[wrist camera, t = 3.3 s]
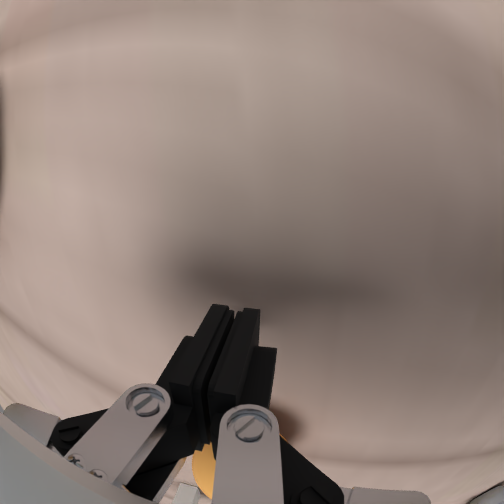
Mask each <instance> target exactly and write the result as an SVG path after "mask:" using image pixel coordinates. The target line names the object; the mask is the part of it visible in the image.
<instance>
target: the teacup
mask: <svg viewBox="0 0 504 504" xmlns="http://www.w3.org/2000/svg"><path fill="white" fill-rule="evenodd" d="M470 504H504V487H503V486H498V487H495V488H493V489H491V490H490V491H488V492H486V493H484V494H482V495H481V496H479V497H477V498H475V499H474V500H472V501H471V502H470Z"/></svg>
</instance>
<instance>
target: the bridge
mask: <svg viewBox="0 0 504 504" xmlns="http://www.w3.org/2000/svg"><path fill="white" fill-rule="evenodd" d="M200 496H201V495H200V492H199V489H198V487H194V486H191V485H187V484H184V483H180V485H179V488H178V490H177V492H176V495H175V497H174V499H173V502H172V504H198V501H199V498H200Z"/></svg>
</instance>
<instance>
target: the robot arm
mask: <svg viewBox="0 0 504 504" xmlns="http://www.w3.org/2000/svg"><path fill="white" fill-rule="evenodd" d="M259 326H260V309H251V308H244V310H243V312H241V311H238V312H237V314H236V317H235V319H234V311H233V310H229V306H225V305H218V304H212V306H211V307H210V309H209V311H208V313H207V314H206V316H205V318H204V320H203V321H202V323H201V325H200V327H199V328H198V330H197V332H196V334H195V335H194V337H192V336H185V337H184V338H183V340H182V341H181V343H180V345H179V346H178V348H177V350H176V351H175V353H174V355H173V356H172V358H171V360H170V361H169V363H168V364H167V366H166V368H165V369H164V371H163V373H162V374H161V376H160V378H159V379H158V381H157V383H156V384H155V385H154V384H146V383H144V384H138V385H135V386H133V387H130V388H129V389H128V390H126V391H125V392H124V393H123V394H122V395H121V396H120V397H119V399H118V400H117V401H116V402H115V403H114V404H113V405H112V406H111V407H110V408H109V409H105V410H101V411H97V412H93V413H89V414H85V415H80V416H76V417H71V418H67V419H64V420H61V419H60V418H59V417H58V416H55V415H51V414H48V413H45V412H42V411H39V410H37V409H34V408H31V407H28V406H26V405H23V404H19V403H15V404H11V405H9V406H8V407H7V408H6V409H5V410H4V412H3V414H2V413H1V412H0V504H159V502H160V501H161V499H162V498H163V496H164V494H165V493H166V491H167V490H168V488H169V487H170V485H171V484H172V482H173V480H174V479H175V477H176V476H177V474H178V473H179V471H180V469H181V468H182V466H183V465H184V463H185V460H186V457H187V456H190V455H192V454H194V452H195V450H198V451H202V450H203V447H204V444H208V445H210V443H212V449H213V455H214V459H215V460H216V465H215V475H214V484H213V494H212V503H211V504H431V501H430V499H429V498H428V496H427V495H425V494H424V493H422V492H418V491H399V490H382V489H370V488H361V487H353V488H352V489H350V488H343V487H339V486H338V485H337V484H336V483H335V482H334V481H332V480H331V479H330V478H329V477H327V476H326V475H325V474H324V473H322V472H321V471H320V470H319V469H318V468H316V467H315V466H314V465H313V464H312V463H310V462H309V461H308V460H307V459H306V458H305V457H303V456H302V455H301V454H300V453H299V452H298V451H297V450H296V449H294V448H293V447H292V446H291V445H290V444H289V443H288V442H287V441H286V440H285V439H284V438H282V437H281V436H280V435H279V425H278V421H277V418H276V417H275V416H274V414H273V413H272V412H271V411H269V405H270V399H271V392H272V386H273V379H274V371H275V363H276V354H277V348H270V347H261V346H258V343H259Z"/></svg>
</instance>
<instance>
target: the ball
mask: <svg viewBox="0 0 504 504" xmlns="http://www.w3.org/2000/svg"><path fill="white" fill-rule="evenodd" d="M279 435H280V436H281V437H282V438H284V437H283V436H282V435H281V434H280V433H279ZM284 439H285V438H284ZM285 440H286V439H285ZM286 441H287V440H286ZM215 465H216V460H215V459H214V455H213V449H212V443H210V445H208V444H204V447H203V450H202V451H198V450H195V452H194V454H193V458H192V471H193V475H194V478H195V481H196V483H197V485H198V486H199V488H200V489H201V490H202V491H203V493H204V494H205V495H206V496H208V497H209V498H210V499H211V500H212V494H213V484H214V475H215Z"/></svg>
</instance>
